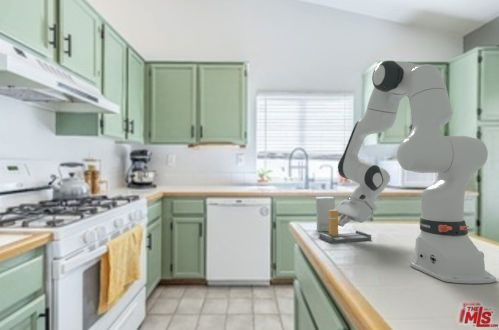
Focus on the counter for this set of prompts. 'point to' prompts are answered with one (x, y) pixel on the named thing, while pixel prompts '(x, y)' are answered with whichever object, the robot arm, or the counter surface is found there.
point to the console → (346, 237)
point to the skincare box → (323, 212)
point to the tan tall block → (333, 223)
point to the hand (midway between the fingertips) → (339, 225)
